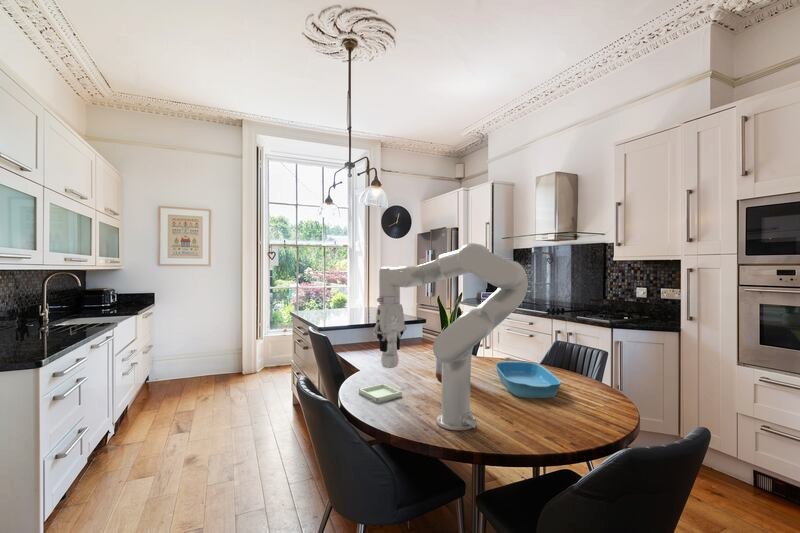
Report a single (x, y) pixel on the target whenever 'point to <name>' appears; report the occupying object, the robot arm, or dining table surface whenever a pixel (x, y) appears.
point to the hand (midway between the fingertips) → (389, 349)
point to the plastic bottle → (390, 350)
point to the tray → (380, 393)
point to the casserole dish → (528, 379)
